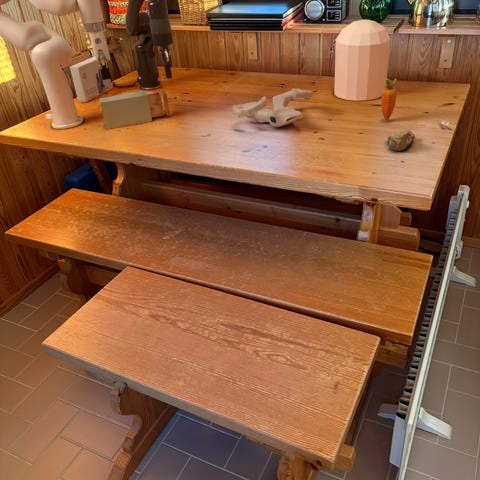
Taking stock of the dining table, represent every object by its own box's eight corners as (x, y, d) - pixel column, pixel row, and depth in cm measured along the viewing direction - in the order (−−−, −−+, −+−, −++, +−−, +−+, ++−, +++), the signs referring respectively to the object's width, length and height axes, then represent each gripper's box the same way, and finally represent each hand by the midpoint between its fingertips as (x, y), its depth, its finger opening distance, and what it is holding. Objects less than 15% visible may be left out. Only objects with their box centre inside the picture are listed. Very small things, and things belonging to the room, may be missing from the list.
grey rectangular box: (150, 116, 191) (145, 90, 185) (152, 121, 186) (147, 94, 180) (106, 124, 188) (99, 98, 182) (106, 129, 183) (99, 102, 177)
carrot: (394, 118, 167) (398, 76, 158) (393, 123, 163) (397, 80, 154) (379, 117, 168) (383, 75, 160) (378, 122, 165) (382, 80, 156)
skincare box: (87, 102, 214) (77, 67, 204) (78, 102, 215) (68, 66, 206) (113, 88, 229) (105, 54, 220) (104, 88, 231) (96, 54, 222)
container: (354, 104, 182) (359, 27, 166) (324, 91, 198) (325, 20, 182) (396, 93, 189) (404, 18, 173) (363, 81, 205) (368, 12, 189)
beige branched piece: (230, 133, 167) (227, 101, 161) (244, 110, 188) (241, 81, 182) (308, 133, 161) (308, 99, 155) (313, 109, 182) (314, 78, 176)
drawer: (181, 109, 192) (177, 88, 187) (183, 112, 189) (179, 91, 184) (127, 118, 188) (122, 97, 183) (128, 122, 184) (123, 100, 179)
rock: (408, 140, 153) (379, 139, 152) (414, 122, 149) (384, 120, 148) (421, 154, 144) (391, 153, 143) (428, 135, 140) (396, 133, 139)
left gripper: (106, 29, 159) (117, 80, 169) (104, 22, 173) (115, 69, 183) (84, 32, 158) (97, 83, 168) (83, 25, 172) (95, 72, 182)
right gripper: (174, 32, 168) (181, 80, 178) (168, 26, 178) (175, 72, 188) (153, 35, 166) (162, 84, 176) (149, 29, 177) (157, 75, 187)
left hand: (106, 76), depth 175 cm, fingers open, 9 cm apart
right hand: (169, 78), depth 182 cm, fingers closed
